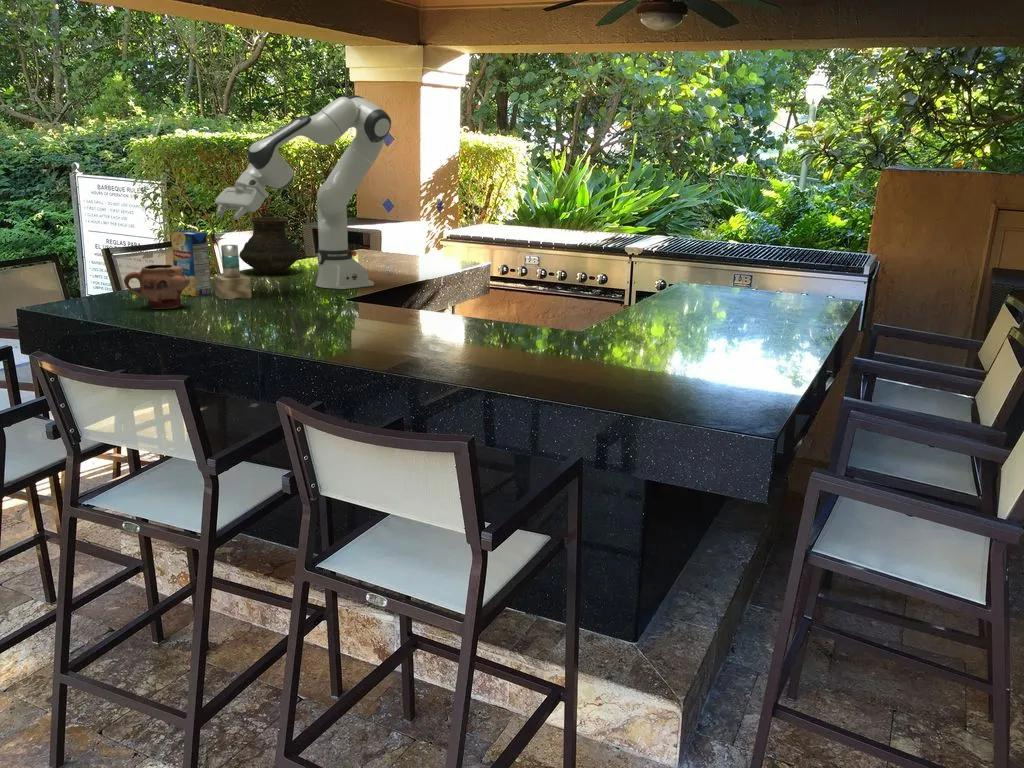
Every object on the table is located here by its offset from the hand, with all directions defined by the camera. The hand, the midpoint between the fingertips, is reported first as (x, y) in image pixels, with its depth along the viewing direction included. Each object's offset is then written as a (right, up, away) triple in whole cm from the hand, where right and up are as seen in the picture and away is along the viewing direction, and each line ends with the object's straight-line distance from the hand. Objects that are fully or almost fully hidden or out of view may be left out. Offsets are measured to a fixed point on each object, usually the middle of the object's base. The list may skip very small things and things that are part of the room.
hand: (226, 217), depth 297 cm
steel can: (0, -20, +6) cm, 21 cm away
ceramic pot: (-2, -11, +61) cm, 62 cm away
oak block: (0, -27, +8) cm, 28 cm away
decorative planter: (-18, -33, -14) cm, 40 cm away
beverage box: (-16, -26, +11) cm, 32 cm away
